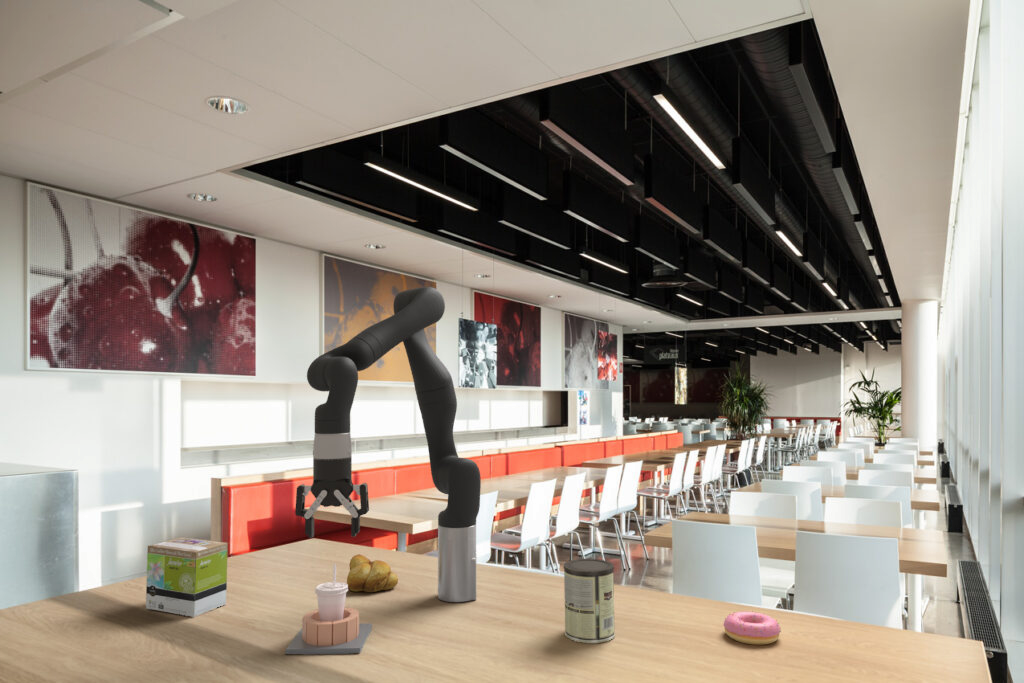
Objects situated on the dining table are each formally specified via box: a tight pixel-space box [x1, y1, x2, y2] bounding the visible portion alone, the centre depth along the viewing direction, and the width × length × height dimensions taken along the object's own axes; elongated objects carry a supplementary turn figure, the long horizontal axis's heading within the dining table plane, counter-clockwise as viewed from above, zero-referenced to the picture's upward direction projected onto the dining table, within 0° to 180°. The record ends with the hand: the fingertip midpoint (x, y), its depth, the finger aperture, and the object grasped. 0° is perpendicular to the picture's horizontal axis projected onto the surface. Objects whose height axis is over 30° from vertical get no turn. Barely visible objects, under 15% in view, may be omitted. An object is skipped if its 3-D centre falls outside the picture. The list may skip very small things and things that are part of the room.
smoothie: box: [314, 563, 349, 622], centre depth 141 cm, size 6×6×14 cm
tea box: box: [145, 536, 229, 618], centre depth 162 cm, size 15×10×15 cm
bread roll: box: [346, 554, 399, 593], centre depth 176 cm, size 13×10×8 cm
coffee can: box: [562, 558, 616, 644], centre depth 143 cm, size 10×10×14 cm
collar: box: [285, 606, 373, 656], centre depth 140 cm, size 14×14×5 cm
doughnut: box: [723, 611, 782, 646], centre depth 142 cm, size 11×11×4 cm
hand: (332, 536), depth 141 cm, fingers open, 8 cm apart
